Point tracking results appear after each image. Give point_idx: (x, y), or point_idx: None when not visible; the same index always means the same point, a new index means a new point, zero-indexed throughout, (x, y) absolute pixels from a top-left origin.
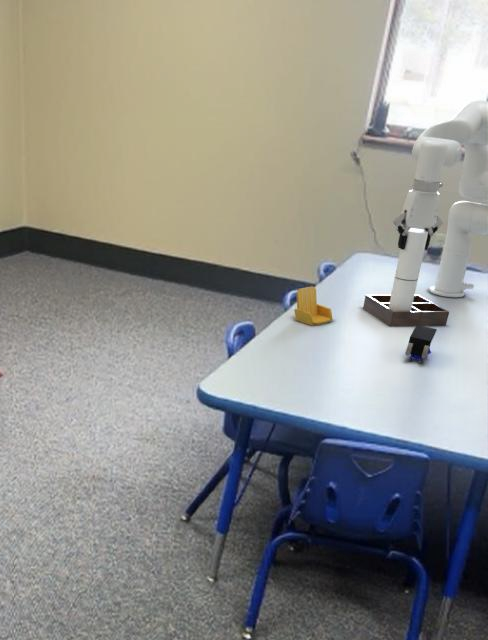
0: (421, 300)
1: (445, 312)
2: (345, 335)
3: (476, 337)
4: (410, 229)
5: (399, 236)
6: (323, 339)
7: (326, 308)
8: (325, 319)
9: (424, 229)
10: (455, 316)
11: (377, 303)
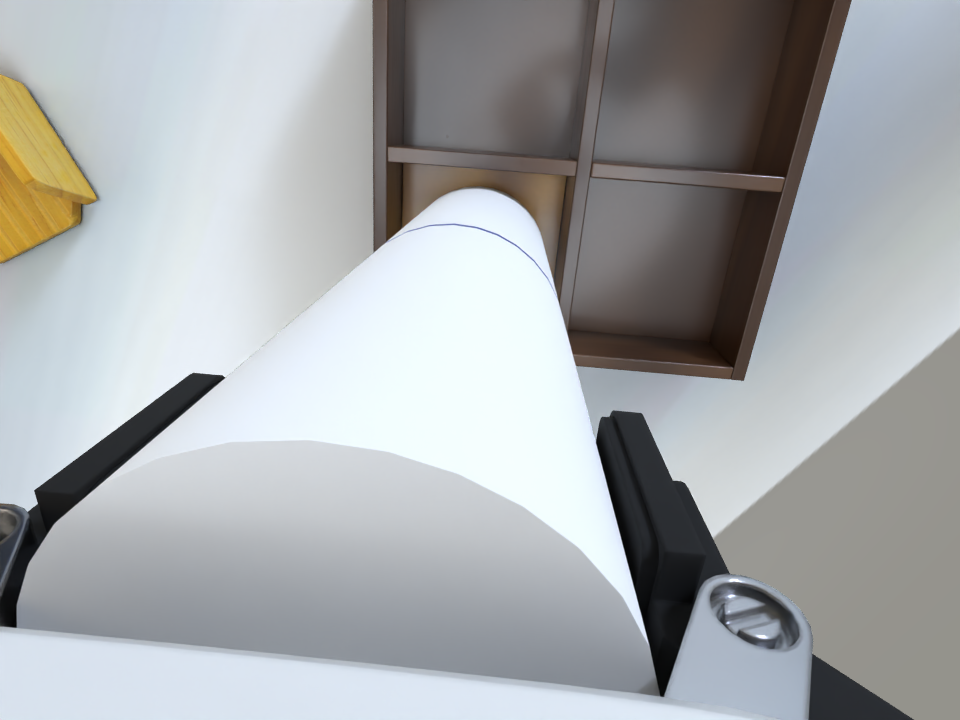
0: (815, 28)
1: (717, 377)
2: (114, 412)
3: (731, 512)
4: (204, 616)
5: (35, 508)
6: (5, 444)
7: (11, 167)
8: (42, 218)
9: (671, 674)
10: (941, 187)
11: (374, 134)
